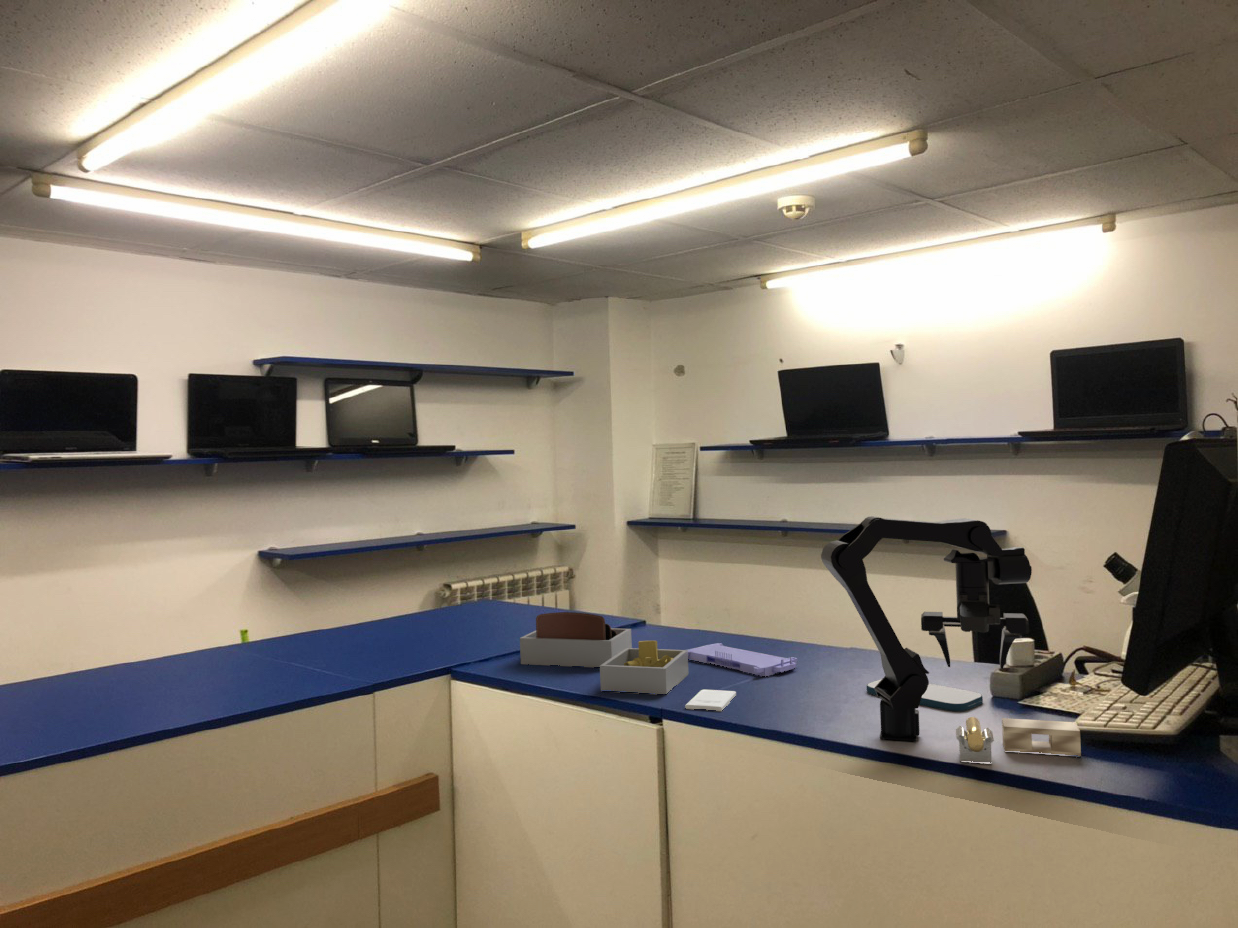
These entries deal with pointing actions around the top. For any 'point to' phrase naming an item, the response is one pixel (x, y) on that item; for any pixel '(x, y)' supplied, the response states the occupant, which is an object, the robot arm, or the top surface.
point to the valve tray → (643, 672)
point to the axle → (974, 734)
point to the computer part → (741, 659)
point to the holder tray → (572, 650)
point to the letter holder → (573, 626)
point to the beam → (1060, 734)
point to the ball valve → (649, 656)
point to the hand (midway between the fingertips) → (975, 667)
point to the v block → (970, 755)
